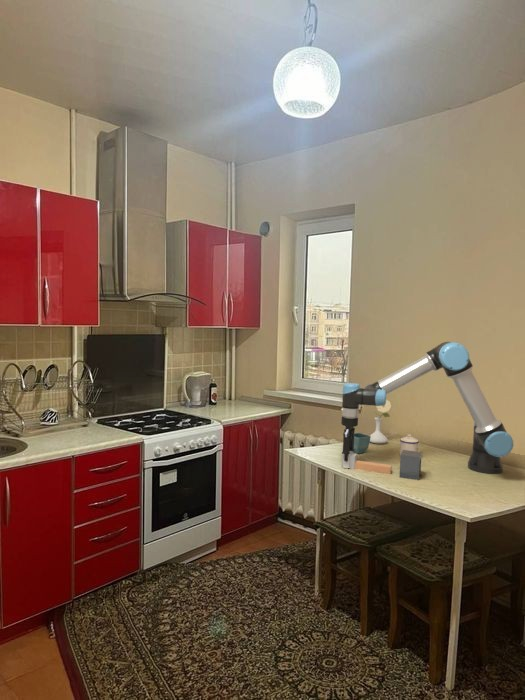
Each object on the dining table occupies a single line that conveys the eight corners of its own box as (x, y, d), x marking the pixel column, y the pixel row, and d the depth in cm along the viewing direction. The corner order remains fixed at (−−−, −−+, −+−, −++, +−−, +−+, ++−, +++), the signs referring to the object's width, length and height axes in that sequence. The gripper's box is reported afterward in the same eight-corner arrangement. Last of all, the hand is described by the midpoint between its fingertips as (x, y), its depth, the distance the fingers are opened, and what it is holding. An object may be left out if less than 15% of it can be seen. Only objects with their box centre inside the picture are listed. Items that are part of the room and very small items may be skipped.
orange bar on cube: (391, 471, 229) (392, 458, 228) (390, 474, 224) (390, 461, 224) (343, 464, 237) (344, 452, 237) (341, 467, 232) (341, 454, 232)
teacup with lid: (421, 459, 250) (422, 436, 249) (404, 460, 248) (406, 436, 247) (409, 453, 261) (410, 431, 261) (393, 453, 259) (394, 431, 259)
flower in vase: (363, 442, 281) (365, 398, 280) (372, 439, 290) (374, 396, 288) (384, 446, 273) (386, 401, 271) (394, 443, 281) (396, 398, 280)
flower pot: (370, 453, 259) (371, 436, 258) (358, 455, 254) (359, 437, 253) (358, 449, 266) (358, 432, 266) (345, 451, 261) (346, 434, 261)
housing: (420, 474, 226) (421, 452, 225) (418, 480, 217) (419, 457, 217) (402, 471, 229) (403, 449, 228) (399, 477, 220) (400, 454, 220)
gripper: (346, 412, 242) (344, 460, 244) (337, 419, 225) (334, 470, 227) (361, 414, 239) (359, 462, 241) (353, 421, 223) (351, 472, 224)
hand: (347, 466), depth 234 cm, fingers closed on orange bar on cube, 5 cm apart
